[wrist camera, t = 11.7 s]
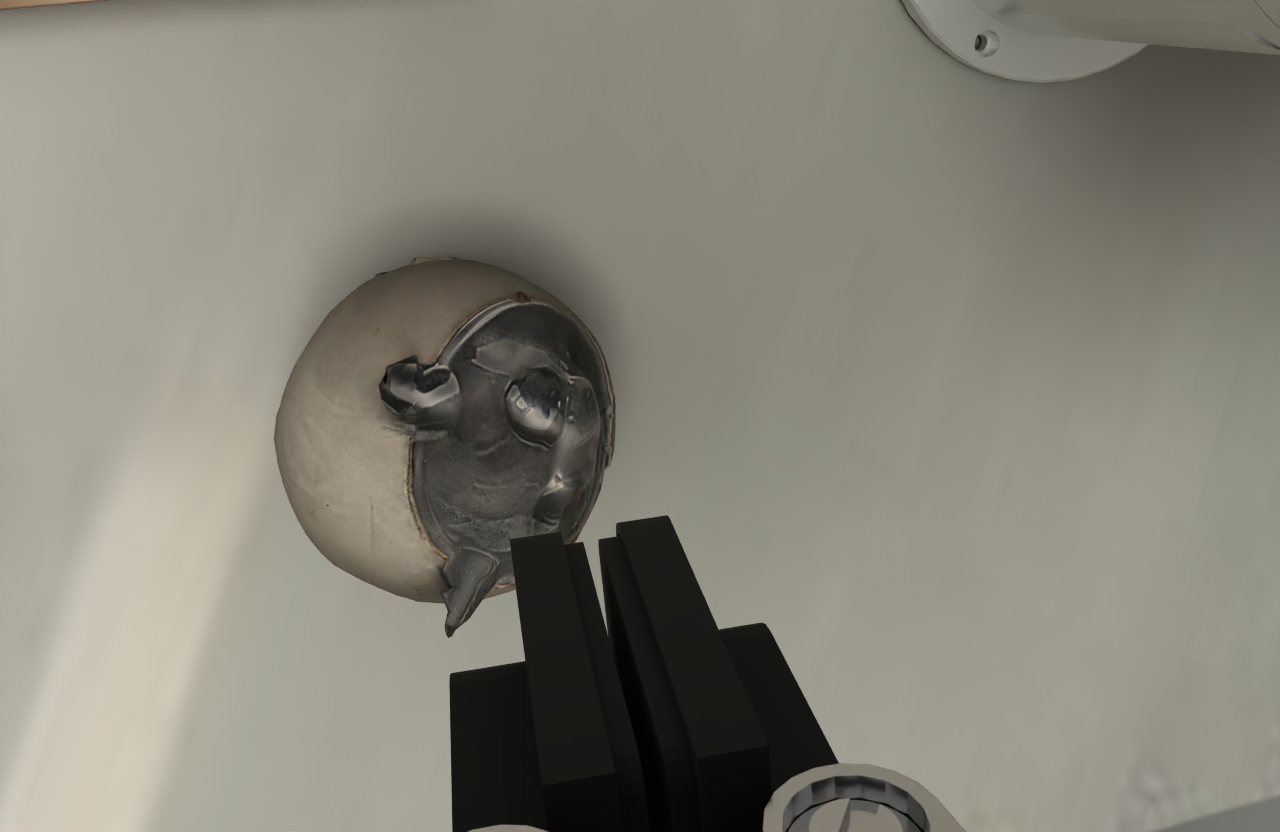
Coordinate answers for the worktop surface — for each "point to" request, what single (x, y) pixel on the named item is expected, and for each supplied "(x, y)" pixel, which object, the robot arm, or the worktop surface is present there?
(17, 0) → the deck
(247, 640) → the worktop surface
